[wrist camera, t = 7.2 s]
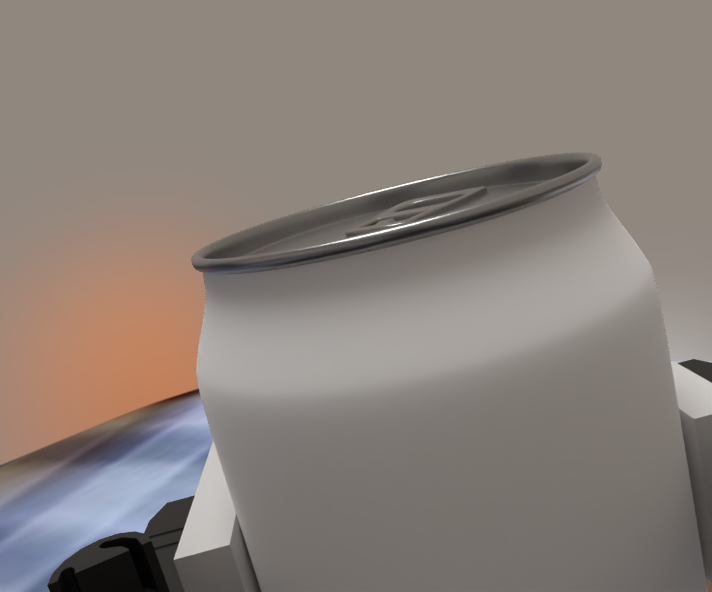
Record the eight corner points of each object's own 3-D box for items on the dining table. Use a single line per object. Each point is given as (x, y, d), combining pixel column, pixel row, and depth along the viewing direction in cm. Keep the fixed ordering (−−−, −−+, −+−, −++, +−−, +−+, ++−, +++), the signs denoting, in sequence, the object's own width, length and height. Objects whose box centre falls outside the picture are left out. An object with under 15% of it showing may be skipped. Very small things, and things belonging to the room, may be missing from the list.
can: (298, 974, 11) (54, 293, 9) (457, 679, 16) (333, 194, 14) (742, 1266, 8) (542, 221, 5) (769, 765, 13) (677, 122, 10)
